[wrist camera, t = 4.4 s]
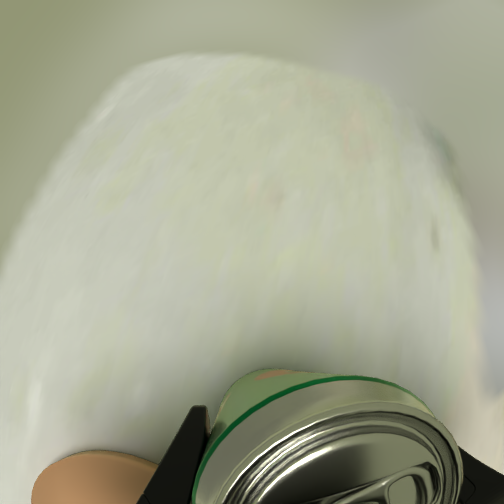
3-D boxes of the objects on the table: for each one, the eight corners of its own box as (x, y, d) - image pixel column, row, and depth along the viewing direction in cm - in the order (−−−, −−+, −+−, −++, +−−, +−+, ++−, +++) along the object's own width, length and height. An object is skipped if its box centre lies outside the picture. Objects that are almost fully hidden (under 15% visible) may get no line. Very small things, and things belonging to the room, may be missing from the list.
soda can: (205, 385, 15) (129, 440, 3) (300, 354, 16) (446, 322, 4) (238, 472, 13) (249, 640, 2) (330, 439, 14) (486, 532, 3)
